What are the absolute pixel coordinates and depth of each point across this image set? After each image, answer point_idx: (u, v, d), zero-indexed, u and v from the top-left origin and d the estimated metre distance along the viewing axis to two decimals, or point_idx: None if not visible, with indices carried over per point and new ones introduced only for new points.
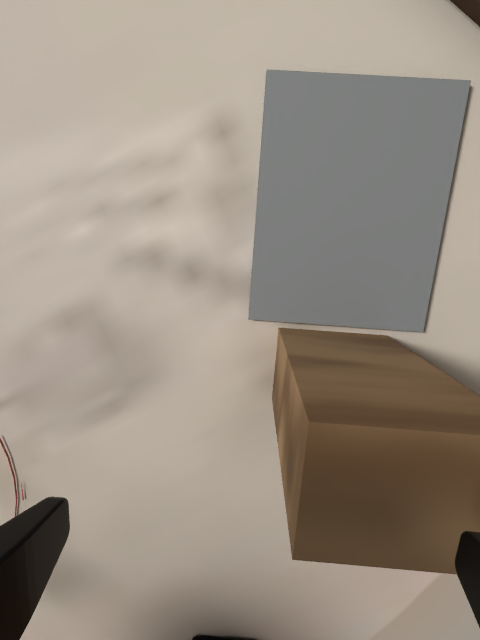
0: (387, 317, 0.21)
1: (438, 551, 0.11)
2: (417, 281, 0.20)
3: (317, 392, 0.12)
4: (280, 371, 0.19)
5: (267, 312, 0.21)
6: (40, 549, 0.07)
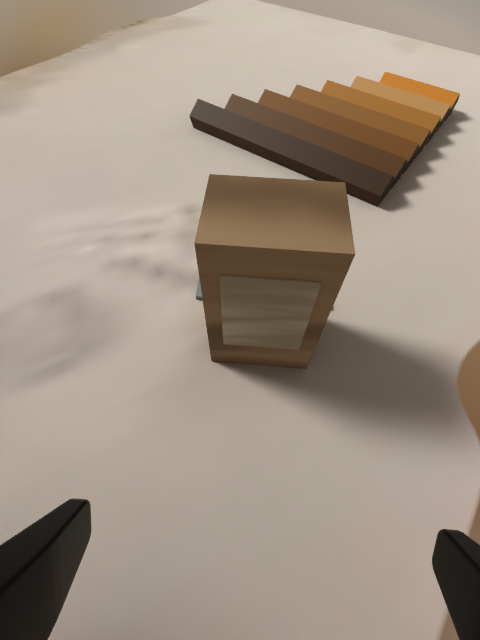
0: None
1: (299, 236, 0.15)
2: None
3: None
4: None
5: None
6: (65, 551, 0.07)
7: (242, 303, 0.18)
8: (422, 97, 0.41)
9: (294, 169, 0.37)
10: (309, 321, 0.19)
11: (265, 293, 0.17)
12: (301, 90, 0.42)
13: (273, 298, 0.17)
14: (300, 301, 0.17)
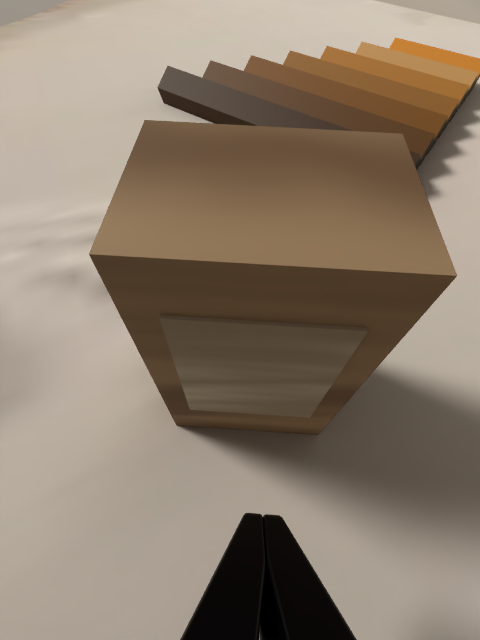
0: None
1: (326, 237, 0.07)
2: None
3: None
4: None
5: None
6: None
7: (212, 360, 0.10)
8: (443, 65, 0.34)
9: None
10: (332, 384, 0.11)
11: (254, 347, 0.09)
12: (296, 57, 0.35)
13: (269, 354, 0.09)
14: (320, 358, 0.09)
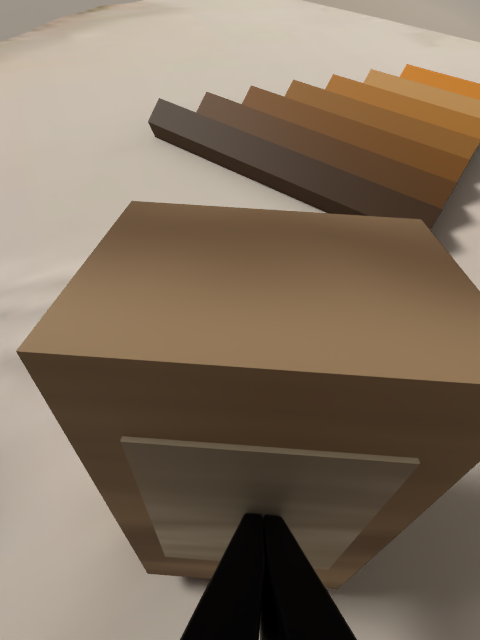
0: None
1: (356, 331, 0.05)
2: None
3: None
4: None
5: None
6: None
7: (196, 496, 0.07)
8: (460, 96, 0.31)
9: (293, 196, 0.26)
10: (362, 530, 0.08)
11: (255, 481, 0.06)
12: (300, 87, 0.32)
13: (276, 490, 0.07)
14: (348, 498, 0.07)
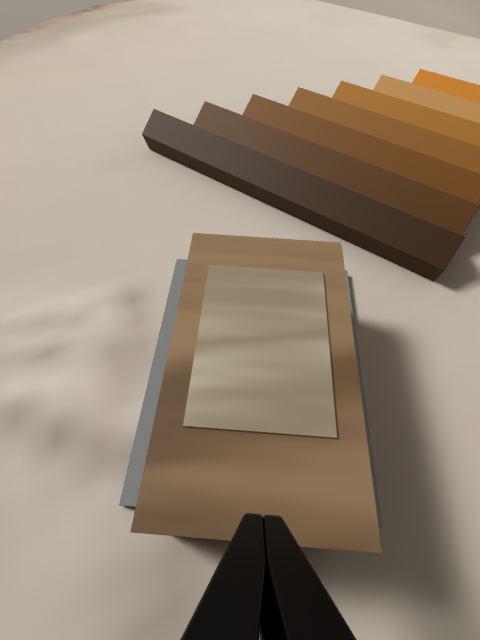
0: None
1: None
2: None
3: None
4: None
5: None
6: None
7: (231, 311, 0.13)
8: (479, 105, 0.29)
9: (299, 217, 0.24)
10: (330, 345, 0.13)
11: (261, 289, 0.14)
12: (305, 95, 0.29)
13: (271, 296, 0.14)
14: (306, 300, 0.14)
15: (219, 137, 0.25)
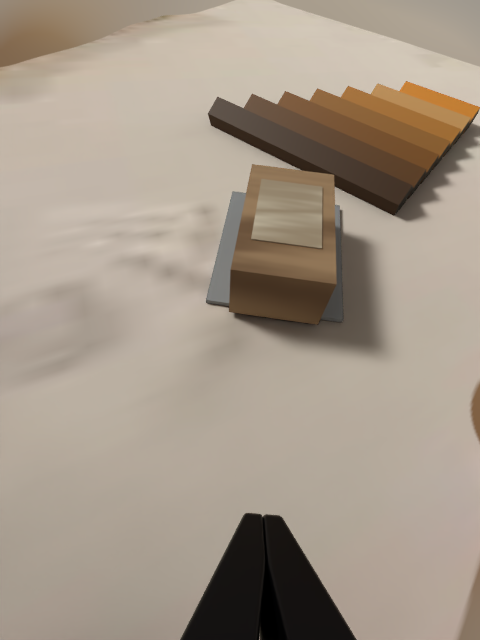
0: None
1: None
2: None
3: None
4: None
5: (221, 296, 0.27)
6: None
7: (273, 199, 0.26)
8: (442, 109, 0.41)
9: None
10: (322, 216, 0.25)
11: (289, 191, 0.26)
12: (321, 94, 0.42)
13: (294, 194, 0.26)
14: (312, 197, 0.26)
15: (262, 118, 0.38)
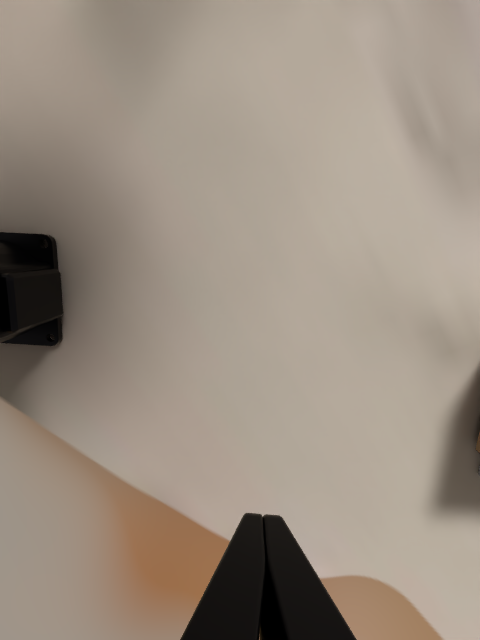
0: None
1: None
2: None
3: None
4: None
5: None
6: None
7: None
8: None
9: None
10: None
11: None
12: None
13: None
14: None
15: None
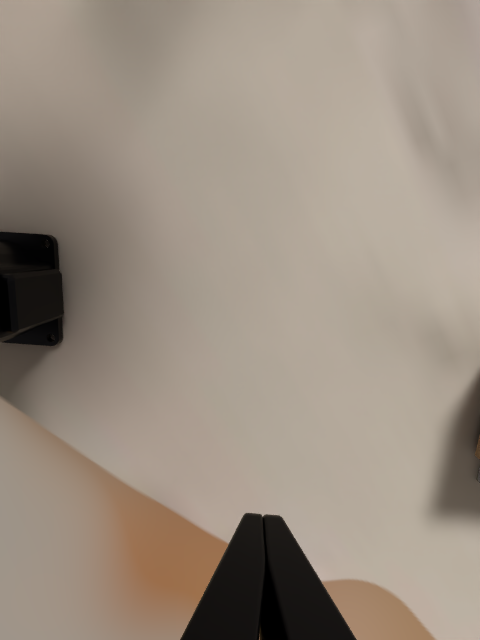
0: None
1: None
2: None
3: None
4: None
5: None
6: None
7: None
8: None
9: None
10: None
11: None
12: None
13: None
14: None
15: None
